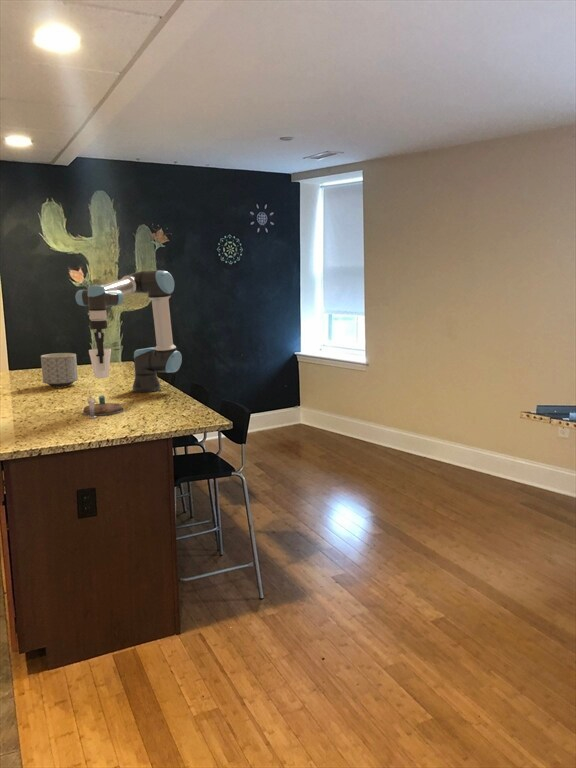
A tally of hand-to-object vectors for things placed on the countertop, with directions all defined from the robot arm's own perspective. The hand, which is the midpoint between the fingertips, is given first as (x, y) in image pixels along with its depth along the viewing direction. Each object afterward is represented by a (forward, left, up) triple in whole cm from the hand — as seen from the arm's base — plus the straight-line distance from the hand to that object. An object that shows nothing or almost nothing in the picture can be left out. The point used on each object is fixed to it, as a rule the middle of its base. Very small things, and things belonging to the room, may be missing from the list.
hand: (101, 369), depth 278 cm
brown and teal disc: (0, -2, -19) cm, 19 cm away
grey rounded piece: (+5, +11, -20) cm, 23 cm away
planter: (+20, -82, -20) cm, 87 cm away
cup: (0, 0, -4) cm, 4 cm away
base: (0, 0, -20) cm, 20 cm away
